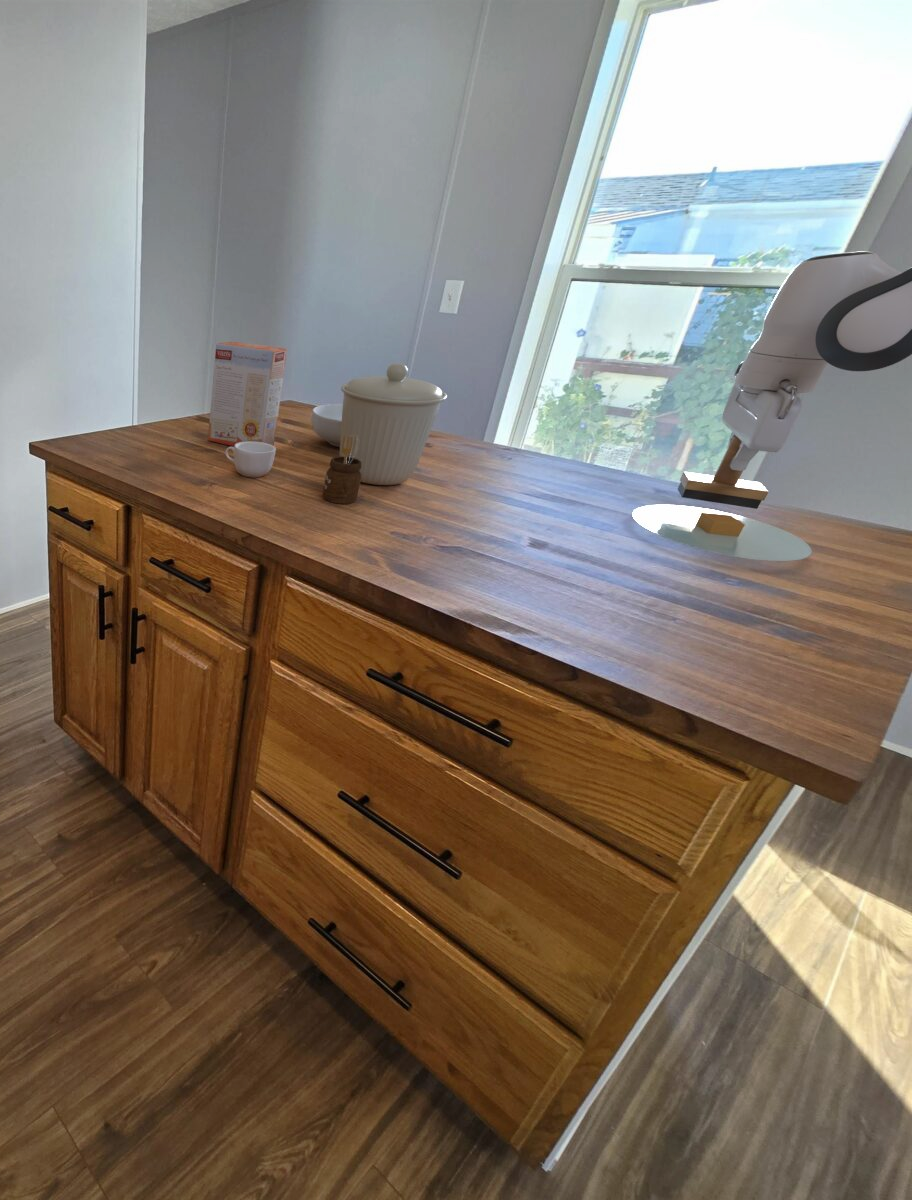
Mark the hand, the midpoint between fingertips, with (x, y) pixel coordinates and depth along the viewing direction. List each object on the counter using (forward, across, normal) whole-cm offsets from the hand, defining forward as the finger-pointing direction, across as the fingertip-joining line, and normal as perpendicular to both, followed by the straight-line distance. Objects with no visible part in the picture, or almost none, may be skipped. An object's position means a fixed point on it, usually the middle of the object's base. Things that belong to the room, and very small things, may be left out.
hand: (732, 465), depth 104 cm
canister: (+10, -5, +52) cm, 53 cm away
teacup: (+10, -16, +74) cm, 76 cm away
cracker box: (+10, +2, +82) cm, 83 cm away
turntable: (+10, -7, 0) cm, 12 cm away
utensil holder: (+10, -21, +55) cm, 60 cm away
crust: (+8, -7, 0) cm, 11 cm away
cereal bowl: (+10, +16, +62) cm, 65 cm away
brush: (+6, 0, 0) cm, 6 cm away
